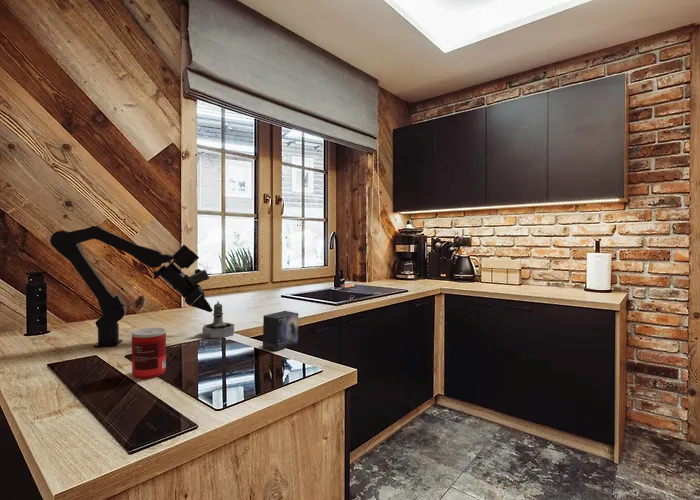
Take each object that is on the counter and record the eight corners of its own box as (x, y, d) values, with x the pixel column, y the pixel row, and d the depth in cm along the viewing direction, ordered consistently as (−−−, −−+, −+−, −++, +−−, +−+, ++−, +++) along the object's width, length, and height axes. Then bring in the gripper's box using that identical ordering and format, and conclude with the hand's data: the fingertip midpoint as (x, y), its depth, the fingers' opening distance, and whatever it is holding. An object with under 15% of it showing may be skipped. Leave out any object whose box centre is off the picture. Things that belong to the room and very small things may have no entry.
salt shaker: (217, 337, 133) (216, 303, 133) (205, 334, 136) (205, 301, 136) (230, 333, 138) (230, 300, 138) (219, 331, 141) (219, 299, 141)
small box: (277, 351, 117) (277, 317, 117) (261, 348, 121) (261, 315, 120) (299, 343, 126) (299, 312, 126) (284, 340, 130) (284, 310, 129)
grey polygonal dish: (232, 337, 133) (232, 328, 133) (201, 338, 131) (201, 330, 131) (234, 330, 143) (234, 322, 143) (205, 331, 141) (205, 323, 141)
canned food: (157, 366, 103) (157, 326, 102) (171, 373, 98) (171, 330, 97) (126, 374, 97) (126, 331, 96) (140, 382, 92) (139, 336, 91)
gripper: (196, 263, 124) (231, 296, 129) (193, 260, 141) (224, 289, 146) (169, 288, 121) (206, 320, 126) (169, 282, 138) (201, 310, 143)
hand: (210, 308), depth 136 cm, fingers open, 9 cm apart
